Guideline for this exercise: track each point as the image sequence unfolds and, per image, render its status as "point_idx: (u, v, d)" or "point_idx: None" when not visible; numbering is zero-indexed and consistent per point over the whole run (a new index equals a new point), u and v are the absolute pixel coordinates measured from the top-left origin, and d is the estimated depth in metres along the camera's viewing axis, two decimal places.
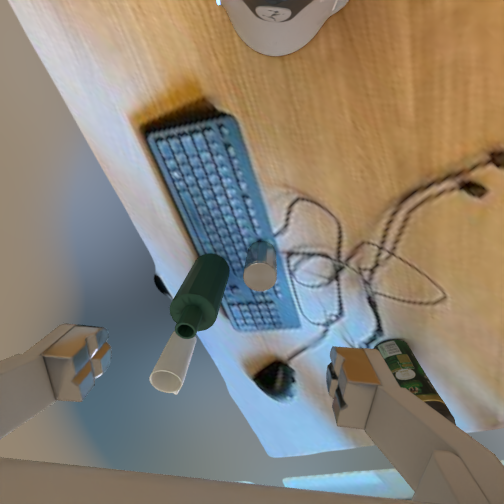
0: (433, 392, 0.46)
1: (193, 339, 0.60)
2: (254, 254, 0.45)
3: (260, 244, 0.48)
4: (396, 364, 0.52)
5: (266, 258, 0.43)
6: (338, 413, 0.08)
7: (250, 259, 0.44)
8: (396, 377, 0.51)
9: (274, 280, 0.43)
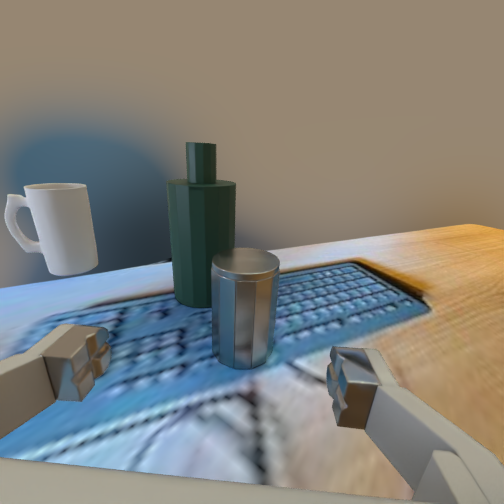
0: None
1: (71, 266, 0.35)
2: None
3: None
4: None
5: (278, 284, 0.21)
6: (338, 413, 0.08)
7: None
8: None
9: (243, 272, 0.19)
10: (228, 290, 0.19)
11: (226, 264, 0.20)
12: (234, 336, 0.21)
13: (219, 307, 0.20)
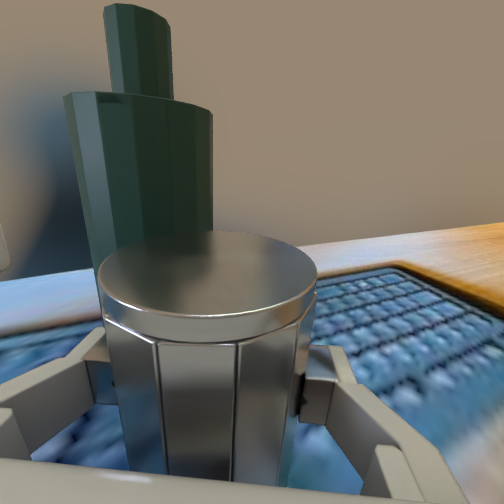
0: None
1: None
2: None
3: None
4: None
5: (310, 335, 0.07)
6: (299, 410, 0.08)
7: None
8: None
9: (185, 306, 0.05)
10: (136, 371, 0.05)
11: (140, 274, 0.06)
12: None
13: (122, 413, 0.06)
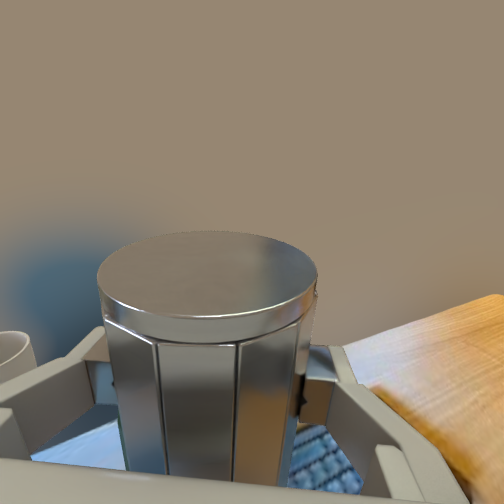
0: None
1: None
2: None
3: None
4: None
5: (310, 335, 0.07)
6: (299, 410, 0.08)
7: None
8: None
9: (185, 307, 0.05)
10: (136, 372, 0.05)
11: (140, 274, 0.06)
12: None
13: (122, 414, 0.06)
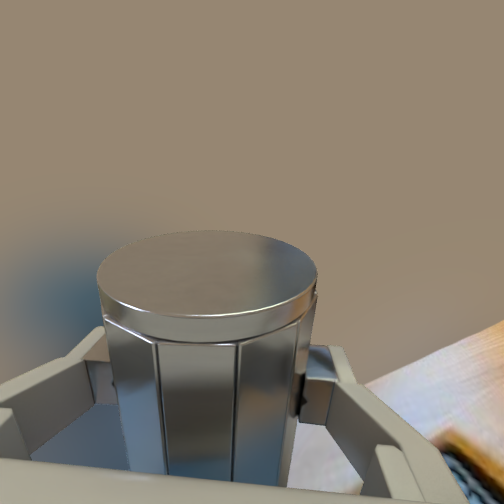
0: None
1: None
2: None
3: None
4: None
5: (310, 335, 0.07)
6: (299, 410, 0.08)
7: None
8: None
9: (185, 306, 0.05)
10: (136, 371, 0.05)
11: (140, 273, 0.06)
12: None
13: (122, 413, 0.06)
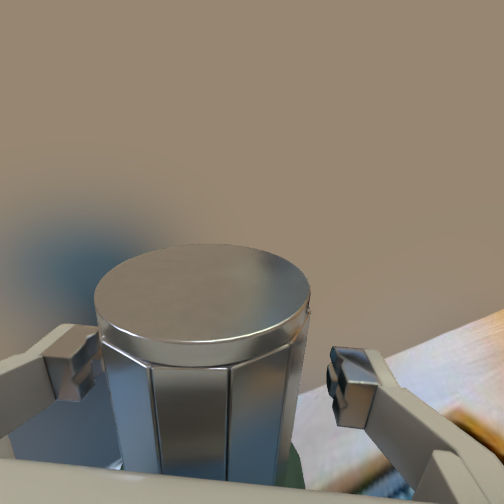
0: None
1: None
2: None
3: None
4: None
5: (303, 351, 0.07)
6: (338, 414, 0.08)
7: None
8: None
9: (178, 331, 0.05)
10: (131, 392, 0.05)
11: (136, 294, 0.06)
12: None
13: (119, 430, 0.06)
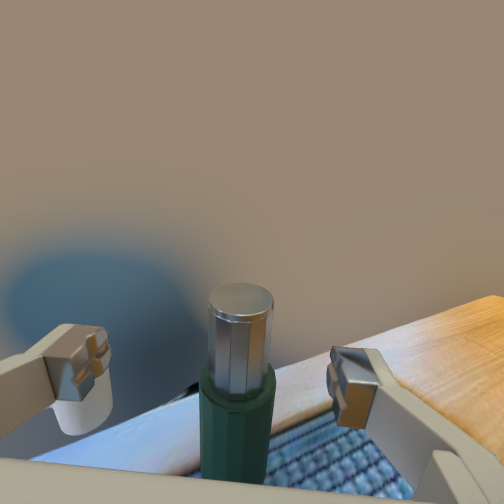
0: None
1: (85, 425, 0.32)
2: None
3: None
4: None
5: (271, 321, 0.22)
6: (338, 414, 0.08)
7: None
8: None
9: (238, 313, 0.20)
10: (224, 329, 0.20)
11: (222, 303, 0.21)
12: (229, 371, 0.22)
13: (215, 344, 0.21)
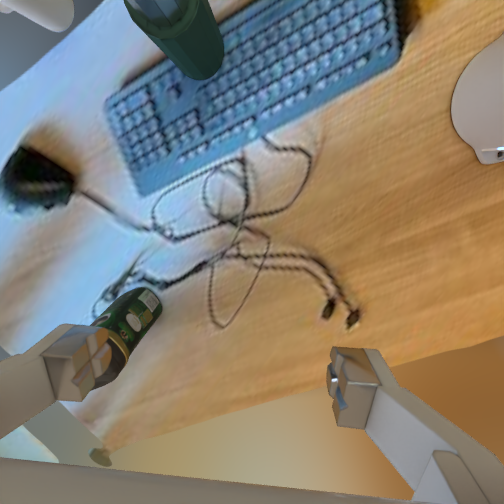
0: (130, 352, 0.41)
1: (61, 23, 0.36)
2: None
3: None
4: (139, 311, 0.46)
5: None
6: (337, 414, 0.08)
7: None
8: (126, 315, 0.43)
9: None
10: None
11: None
12: (141, 7, 0.22)
13: None
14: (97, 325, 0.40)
